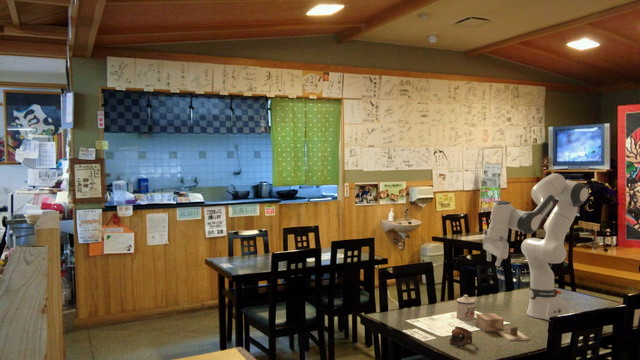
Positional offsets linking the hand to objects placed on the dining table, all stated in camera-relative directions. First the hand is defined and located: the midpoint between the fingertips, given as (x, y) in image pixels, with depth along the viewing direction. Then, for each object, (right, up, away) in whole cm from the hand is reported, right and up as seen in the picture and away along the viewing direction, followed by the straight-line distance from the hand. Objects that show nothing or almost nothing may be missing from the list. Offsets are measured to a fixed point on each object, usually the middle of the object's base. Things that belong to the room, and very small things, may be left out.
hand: (493, 263), depth 238 cm
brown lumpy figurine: (-22, -31, -24) cm, 45 cm away
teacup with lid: (-8, -30, +14) cm, 34 cm away
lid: (+5, -31, -13) cm, 34 cm away
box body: (-3, -30, -3) cm, 30 cm away
